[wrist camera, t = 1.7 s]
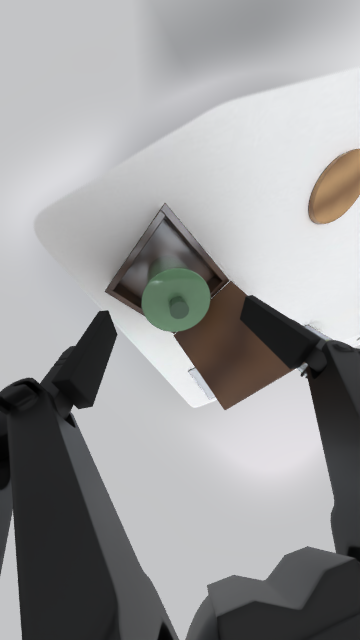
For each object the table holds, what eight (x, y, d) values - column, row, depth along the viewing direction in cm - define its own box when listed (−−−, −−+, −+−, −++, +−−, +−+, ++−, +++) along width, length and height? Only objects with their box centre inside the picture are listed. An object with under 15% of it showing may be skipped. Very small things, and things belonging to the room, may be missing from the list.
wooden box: (112, 281, 22) (104, 291, 18) (162, 208, 18) (165, 202, 14) (171, 321, 28) (174, 334, 25) (218, 273, 24) (229, 280, 21)
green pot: (135, 281, 22) (124, 317, 13) (165, 241, 19) (177, 251, 10) (170, 306, 25) (180, 348, 16) (199, 276, 23) (229, 305, 14)
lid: (224, 410, 19) (229, 397, 23) (316, 356, 15) (303, 351, 19) (173, 335, 24) (184, 335, 28) (230, 280, 20) (234, 289, 24)
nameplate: (203, 363, 38) (188, 370, 39) (204, 364, 38) (188, 372, 38) (220, 393, 51) (209, 398, 51) (221, 394, 50) (209, 399, 51)
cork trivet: (302, 191, 20) (307, 190, 19) (362, 131, 17) (370, 127, 16) (314, 235, 23) (319, 235, 23) (364, 191, 21) (370, 190, 20)
